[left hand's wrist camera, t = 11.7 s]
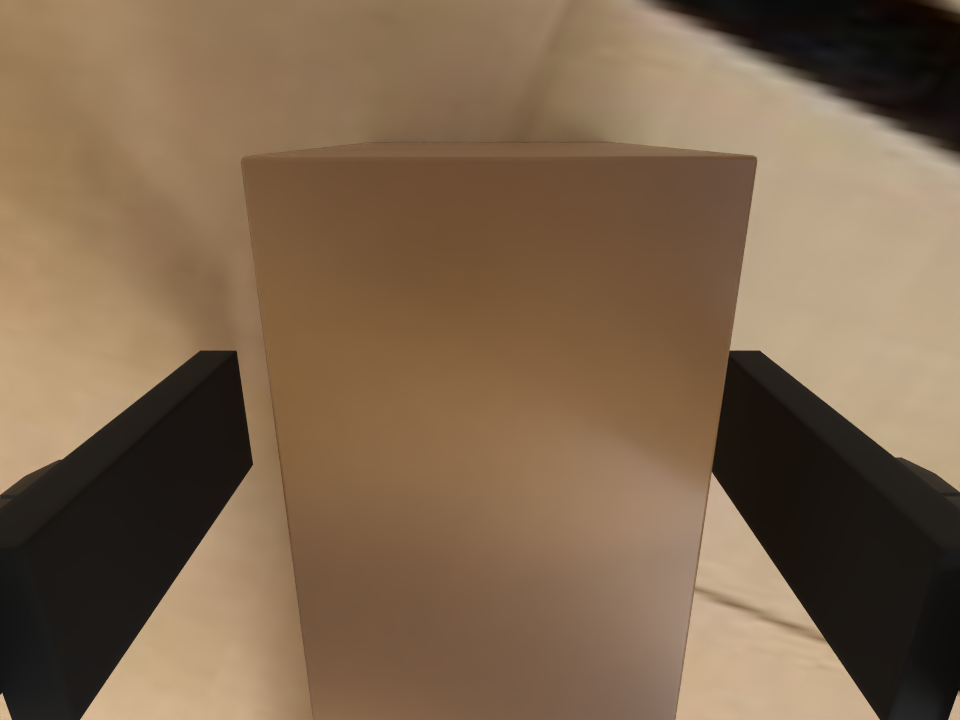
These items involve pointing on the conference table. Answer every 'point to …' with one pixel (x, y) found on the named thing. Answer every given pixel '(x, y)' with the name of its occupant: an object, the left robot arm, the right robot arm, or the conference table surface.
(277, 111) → the conference table surface
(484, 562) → the beam
